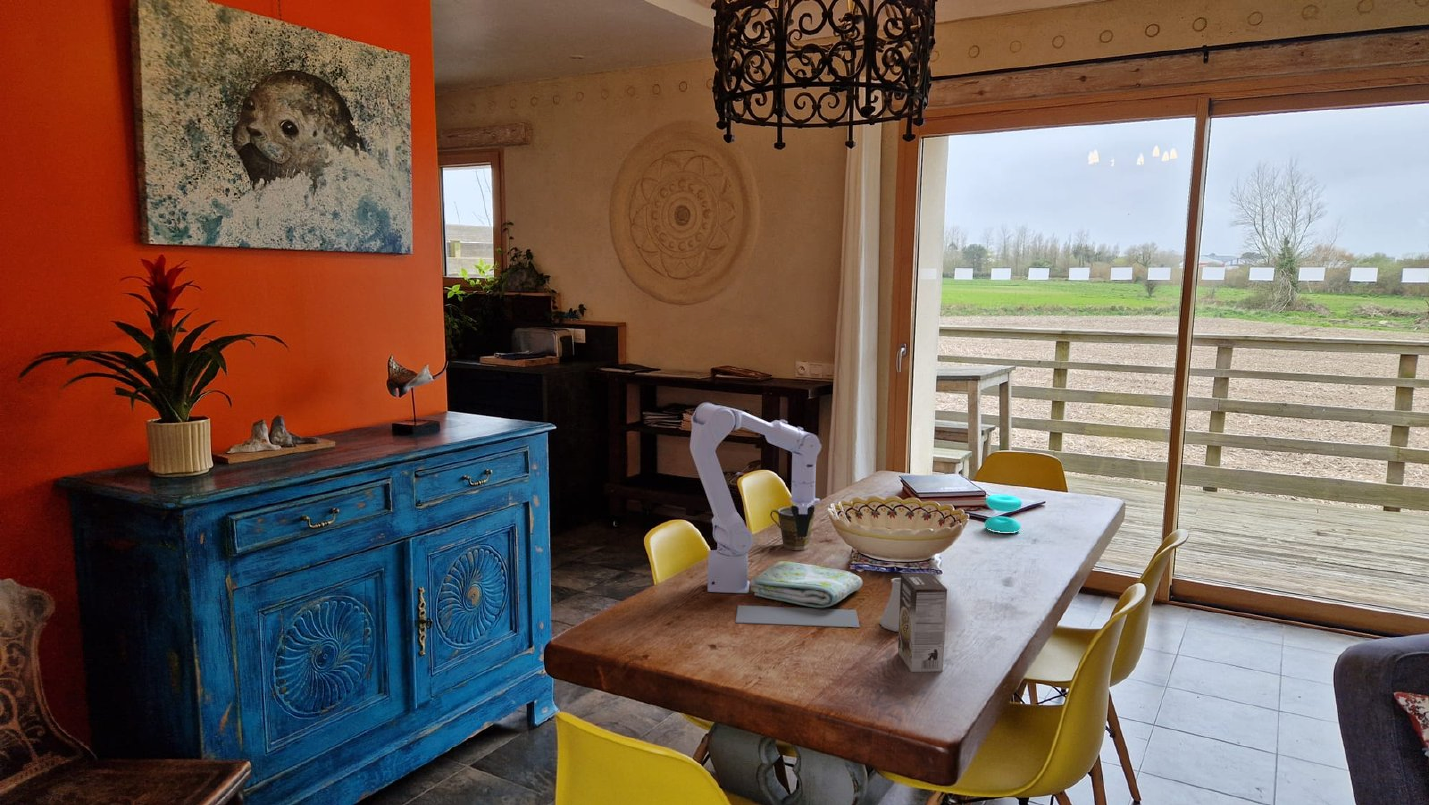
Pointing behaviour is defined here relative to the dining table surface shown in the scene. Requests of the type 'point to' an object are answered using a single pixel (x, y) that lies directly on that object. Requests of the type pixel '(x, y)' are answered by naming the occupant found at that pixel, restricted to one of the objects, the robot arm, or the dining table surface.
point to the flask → (892, 608)
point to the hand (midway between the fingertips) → (802, 535)
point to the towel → (805, 584)
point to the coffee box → (922, 622)
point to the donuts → (1006, 505)
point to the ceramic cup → (791, 529)
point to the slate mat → (797, 616)
